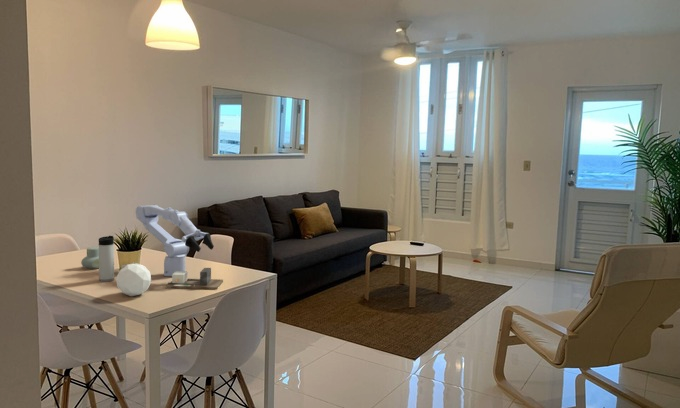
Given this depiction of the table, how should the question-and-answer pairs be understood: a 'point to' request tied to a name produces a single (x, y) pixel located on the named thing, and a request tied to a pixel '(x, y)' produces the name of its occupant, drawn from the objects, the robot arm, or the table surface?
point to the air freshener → (91, 258)
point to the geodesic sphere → (133, 279)
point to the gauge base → (198, 282)
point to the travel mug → (106, 259)
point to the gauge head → (179, 277)
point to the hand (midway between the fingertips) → (206, 249)
